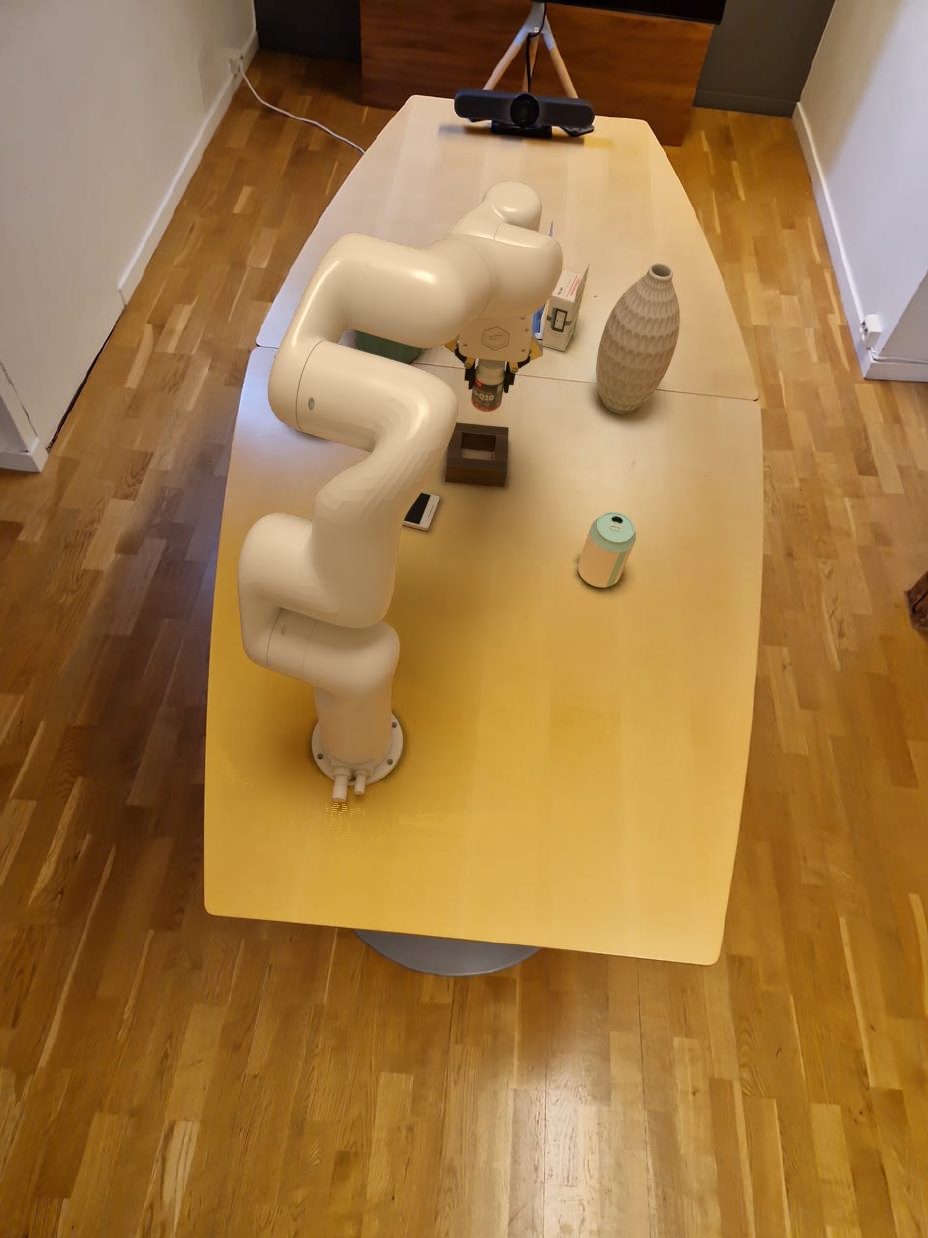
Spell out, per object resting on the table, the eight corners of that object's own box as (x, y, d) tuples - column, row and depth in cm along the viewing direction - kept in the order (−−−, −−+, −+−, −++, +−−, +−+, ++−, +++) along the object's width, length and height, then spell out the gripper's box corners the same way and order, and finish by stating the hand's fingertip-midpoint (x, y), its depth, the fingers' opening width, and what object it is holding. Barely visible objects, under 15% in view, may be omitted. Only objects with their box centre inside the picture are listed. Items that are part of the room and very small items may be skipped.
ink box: (552, 319, 163) (565, 253, 151) (576, 326, 163) (591, 260, 150) (540, 345, 159) (552, 280, 146) (564, 352, 158) (579, 287, 146)
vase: (603, 368, 157) (641, 235, 133) (663, 396, 154) (713, 264, 130) (573, 408, 151) (608, 275, 127) (635, 437, 148) (682, 307, 124)
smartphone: (353, 475, 139) (353, 472, 138) (440, 499, 137) (440, 495, 136) (338, 507, 135) (338, 503, 134) (427, 531, 134) (427, 528, 133)
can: (570, 560, 133) (584, 514, 123) (608, 549, 135) (626, 503, 124) (588, 594, 130) (605, 550, 119) (627, 583, 131) (647, 538, 121)
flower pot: (373, 307, 161) (370, 232, 147) (446, 336, 158) (451, 263, 145) (330, 357, 153) (323, 283, 139) (407, 388, 150) (408, 316, 136)
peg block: (504, 487, 140) (507, 471, 136) (445, 481, 140) (446, 465, 136) (506, 443, 145) (508, 427, 142) (449, 437, 145) (450, 421, 141)
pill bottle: (465, 405, 127) (469, 363, 119) (479, 387, 129) (484, 345, 122) (492, 417, 126) (498, 375, 119) (506, 398, 128) (512, 356, 121)
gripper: (436, 293, 107) (431, 397, 122) (565, 306, 107) (543, 408, 123) (440, 257, 110) (435, 362, 126) (564, 270, 111) (543, 373, 127)
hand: (488, 383), depth 124 cm, fingers closed on pill bottle, 4 cm apart
